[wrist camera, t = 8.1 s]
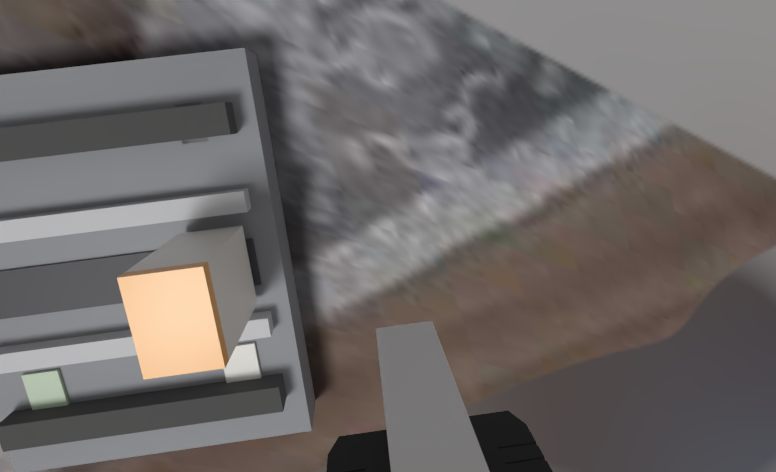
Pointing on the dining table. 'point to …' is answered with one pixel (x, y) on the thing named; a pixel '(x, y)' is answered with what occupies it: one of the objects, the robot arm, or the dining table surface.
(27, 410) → the dark grey rail
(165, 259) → the orange-topped grey block
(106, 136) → the dark grey bar
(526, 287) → the dining table surface
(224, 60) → the panel
